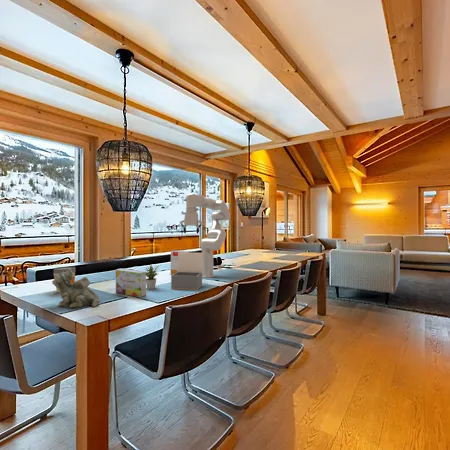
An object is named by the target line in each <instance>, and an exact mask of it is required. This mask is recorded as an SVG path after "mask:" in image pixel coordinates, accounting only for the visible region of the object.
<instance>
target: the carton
mask: <svg viewBox="0 0 450 450" xmlns="http://www.w3.org/2000/svg"><path fill="white" fill-rule="evenodd" d="M170 275H171V274H170ZM170 278H171V279H170V280H171V281H170V282H171V283H170V289H171V290H191V291H198V290H199V289H200V288H201V287H202V286H203V277H202V273H197V272H177V273H175V274H173V275H171V276H170Z"/></svg>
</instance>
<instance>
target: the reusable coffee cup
mask: <svg viewBox="0 0 450 450" xmlns="http://www.w3.org/2000/svg"><path fill="white" fill-rule="evenodd" d="M69 268H70V269H71V271H72V272H73V278H72V279H71V284H73V282H74V281H76V266H59V267H54V268H53V275H54V274H60V272H61V273H62V272H64V273H65V272H66V271H67V270H68V269H69ZM53 280H55V279H54V278H53ZM55 289H56V293H57V292H60V290H59V289H58V288H57V287H56V286H55Z"/></svg>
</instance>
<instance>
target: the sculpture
mask: <svg viewBox="0 0 450 450" xmlns="http://www.w3.org/2000/svg"><path fill="white" fill-rule="evenodd" d="M72 278H73V272H72V271H71V269H70V268H69V269H68V270H67V271H66V272H65V273H64V272H62V273H61V272H60V274H54V273H53V280H52V285H54V287H55V288H56V287H57V288H58V289H59V290H60V293H59V294H60V298H61V299H62V300H61V301H59V302H58V304H57V306H58V307H61V306H68V307H69V308H70V309H75V308H81V307H84V306H91V307H92V308H95V307H97V306H98V305H99V304H100V302H101V301H100V297H99V296H98V293H96V291H94V290H93V289H91V288H90V287H89V285H90V284H91V282H90V280H89V279H88V277H86V276H85V277H82V278H80V279H78V280H75V281H74V282H73V284H71V279H72ZM54 279H55V280H54Z"/></svg>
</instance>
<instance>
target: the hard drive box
mask: <svg viewBox="0 0 450 450" xmlns="http://www.w3.org/2000/svg"><path fill="white" fill-rule="evenodd" d="M178 252H188V253H191V250H170V275H173V274H175V273H177V272H178Z"/></svg>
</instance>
